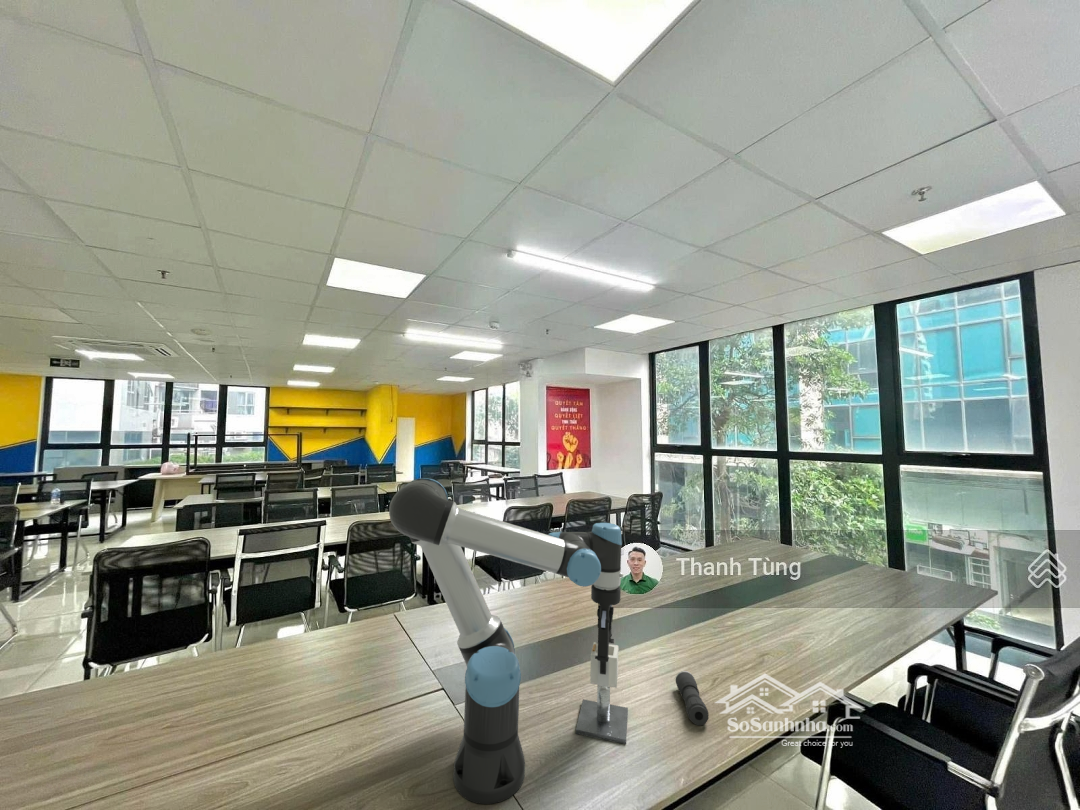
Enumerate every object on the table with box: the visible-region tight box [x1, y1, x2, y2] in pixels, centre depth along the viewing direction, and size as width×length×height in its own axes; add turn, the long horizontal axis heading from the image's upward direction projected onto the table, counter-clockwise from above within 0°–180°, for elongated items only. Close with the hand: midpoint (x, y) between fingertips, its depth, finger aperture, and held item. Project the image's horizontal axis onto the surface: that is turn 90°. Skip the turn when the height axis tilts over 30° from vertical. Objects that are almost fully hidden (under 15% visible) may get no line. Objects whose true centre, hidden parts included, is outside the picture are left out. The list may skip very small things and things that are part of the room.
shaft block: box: [575, 685, 629, 745], centre depth 106 cm, size 12×12×8 cm
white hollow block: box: [589, 641, 619, 689], centre depth 107 cm, size 6×6×7 cm
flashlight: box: [675, 670, 709, 726], centre depth 113 cm, size 15×5×5 cm, turn 174°
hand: (604, 677), depth 107 cm, fingers closed on white hollow block, 6 cm apart
